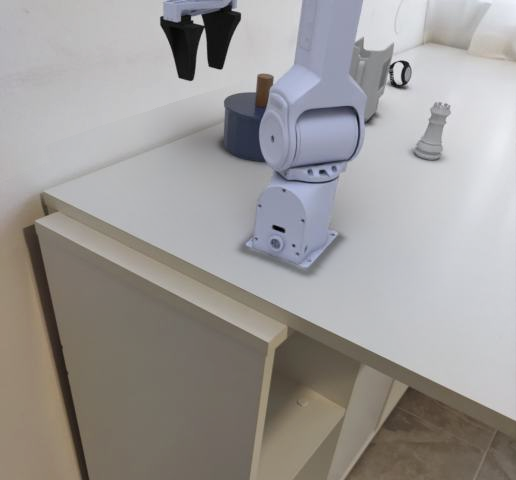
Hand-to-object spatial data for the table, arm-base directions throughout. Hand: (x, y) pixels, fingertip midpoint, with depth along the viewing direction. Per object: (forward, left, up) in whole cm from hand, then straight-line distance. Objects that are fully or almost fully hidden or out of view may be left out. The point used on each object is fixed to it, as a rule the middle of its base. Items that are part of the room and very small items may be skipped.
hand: (201, 73), depth 75 cm
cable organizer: (+33, -14, -11) cm, 37 cm away
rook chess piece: (+22, -30, -11) cm, 39 cm away
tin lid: (+6, -7, -4) cm, 10 cm away
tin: (+6, -7, -10) cm, 14 cm away
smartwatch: (+57, -14, -11) cm, 60 cm away
